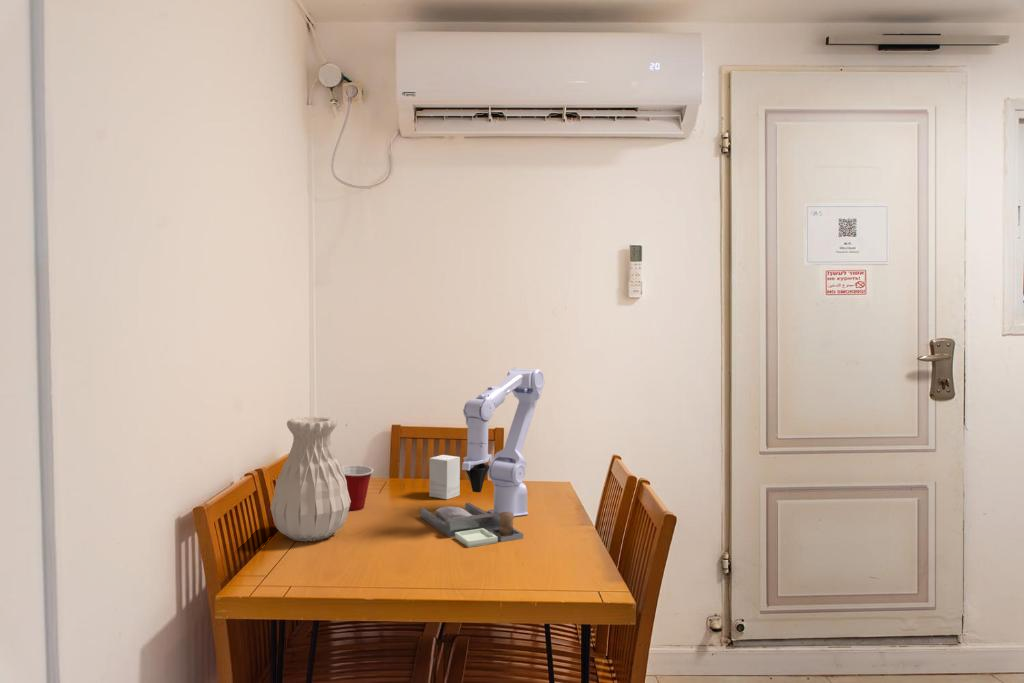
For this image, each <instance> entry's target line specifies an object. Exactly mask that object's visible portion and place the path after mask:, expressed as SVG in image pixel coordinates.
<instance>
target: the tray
mask: <svg viewBox="0 0 1024 683" xmlns="http://www.w3.org/2000/svg"><path fill="white" fill-rule="evenodd" d="M454 539H455V540H457V541H458V542H460V543H461V544H463V546H465V547H467V548H473V547H480V546H486V545H487V546H488V545H493V544H498V541H499V540H498V537H497V536H495V535H494V534H492V533H490V532H489V531H487V530H485V529H484V528H481V529H474V530H468V531H461V532H455V537H454Z"/></svg>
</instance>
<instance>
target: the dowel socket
mask: <svg viewBox="0 0 1024 683" xmlns="http://www.w3.org/2000/svg"><path fill="white" fill-rule="evenodd" d="M489 532H490V533H492V534H494V535H495V536H497V537H498V541H499V542H501V543H502V542H503V543H504V542H509V541H514V540H522V539H524V533H523V532H521V531H519V530H518V529H516V528H514V527H513V534H511V535H505V536H502V535H500V534H499V529H493V530H489Z"/></svg>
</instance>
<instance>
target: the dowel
mask: <svg viewBox="0 0 1024 683" xmlns="http://www.w3.org/2000/svg"><path fill="white" fill-rule="evenodd" d="M513 528H514V517H513V513H511V512H501V513H500V521H499V534H500V535H502V536H505V535H511V534H513Z"/></svg>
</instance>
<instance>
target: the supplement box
mask: <svg viewBox="0 0 1024 683" xmlns="http://www.w3.org/2000/svg"><path fill="white" fill-rule="evenodd" d="M428 465H429V470H428V471H429V475H428V476H429V478H428V479H429V481H428V482H429V483H428V484H429V488H428V489H429V491H428V492H429V494H428V495H429V498H436V499H442V500H449V499H453V498H455V497H458V496H460V492H461V491H460V490H461V489H460V485H461V484H460V483H461V482H460V479H461V457H460V456H456V455H455V456H453V455H447V454H440V455H437V456H433V457H429V464H428Z"/></svg>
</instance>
